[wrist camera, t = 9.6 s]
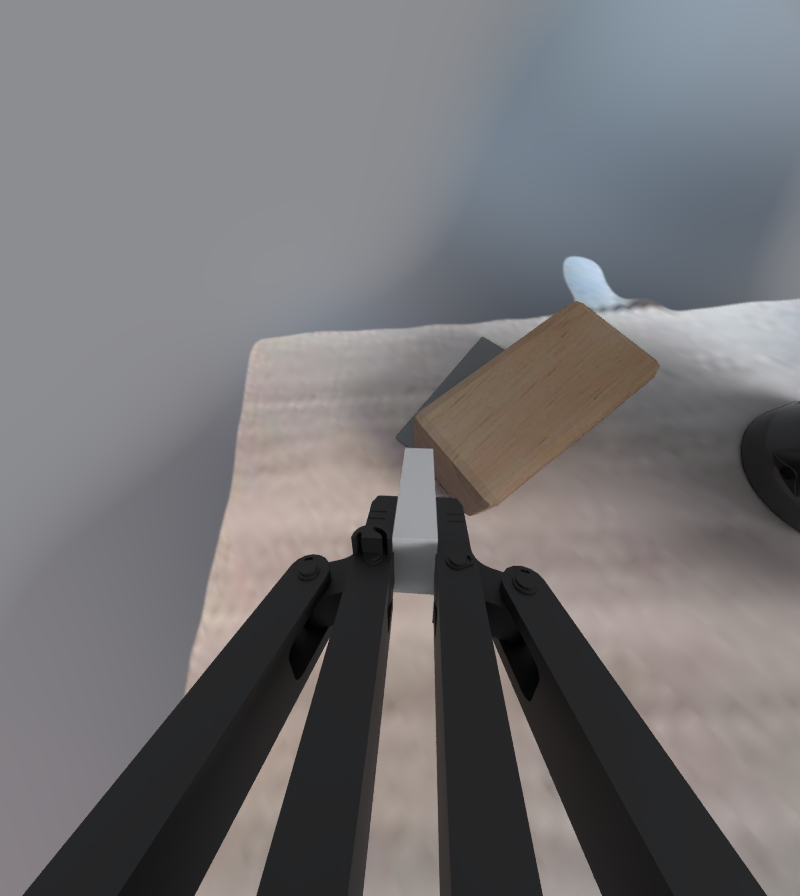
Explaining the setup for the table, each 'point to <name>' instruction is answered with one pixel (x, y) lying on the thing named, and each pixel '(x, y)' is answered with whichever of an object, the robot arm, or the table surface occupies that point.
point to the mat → (455, 380)
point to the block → (529, 405)
